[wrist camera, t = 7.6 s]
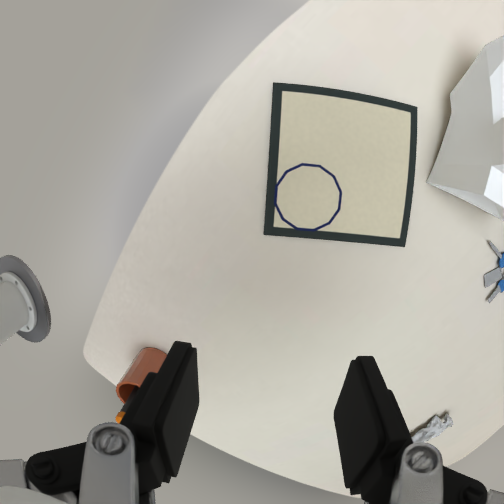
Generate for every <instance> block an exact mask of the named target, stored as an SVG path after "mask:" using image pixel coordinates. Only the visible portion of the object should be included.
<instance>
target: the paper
mask: <svg viewBox="0 0 504 504" xmlns="http://www.w3.org/2000/svg"><path fill="white" fill-rule="evenodd" d="M448 425H449V426H450V427H451V426H452V425H453V421H452V418H451V417H450V416H449V414H447V413H446V415H445V417H444V422H443V423H442V422H441V421H440V418H438V416H436V415H435V416H434V417H433V418H432V420H431V421H430V422H429V424H428V425H427V428H424V429H421V430H419V431H418V432H417V433H416V434H415V435H414V436H413V437H411V438H412V441H413V443H416V442H425V441H428V440H429V439H431V438H433V437H436V436H439V435H440V433H442V432H443V430H445V429H446V428H447V427H448Z"/></svg>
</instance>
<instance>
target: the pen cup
mask: <svg viewBox="0 0 504 504" xmlns="http://www.w3.org/2000/svg"><path fill="white" fill-rule="evenodd" d="M166 356H167V355H166V354H165V353H164V352H162V351H161V350H158V349H156V348H144V349H142V350H141V351H140V352H139V353H138V354H137V356H136V357H135V359H134V360H133V362H132V363H131V365H130V366H129V368H128V369H127V371H126V372H125V374H124V375H123V377H122V378H121V380H120V381H119V383H118V384H117V387H116V392H117V395H118V397H119V398H120V400H121V401H122V402H123V403H124V404H125V402H126V400H127V399H128V397H129V395H130V394H131V392H132V390H133V388H134V387H135V385H136V386H138V387H140V386H141V384H142V382H143V381H144V379H145V377H146V375H147V374H148V373H149V372H155V373H158V371H159V369H160V367H161V365H162V364H163V362H164V360H165V358H166Z"/></svg>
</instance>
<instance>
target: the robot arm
mask: <svg viewBox="0 0 504 504" xmlns="http://www.w3.org/2000/svg"><path fill="white" fill-rule="evenodd" d="M36 323H37V311H36V306H35V303H34V300H33V298H32V295H31V293H30V292H29V290H28V288H27V286H26V285H25V283H24V282H23V281H22V280H21V279H20V278H19V277H18V276H17V275H16V274H14V273H12V272H4V273H2V274H1V275H0V345H1V344H2V343H4V342H5V341H6V340H7V339H8V338H10V337H11V336H12V335H13V334H15V333H16V332H17V331H18V330H21V331H23V332H30V331H31V330H33V329H34V328H35V326H36ZM198 406H199V387H198V368H197V349H196V348H193V347H192V345H191V343H187V342H180V341H175V342H174V343H173V345H172V347H171V349H170V351H169V353H168V354H167V356H166V358H165V360H164V362H163V364H162V365H161V367H160V369H159V371H158V373H155V372H149V373H148V374H147V375H146V377H145V379H144V381H143V382H142V384H141V386H140V388H139V389H138V391H137V393H136V395H135V396H134V398H133V400H132V402H131V403H130V405H129V407H128V409H127V411H126V412H125V414H124V416H123V418H122V420H121V421H120V423H113V422H108V423H103V424H99V425H97V426H96V427H94V428H93V429H92V430H91V431H90V433H89V435H88V437H87V442H84V443H80V444H76V445H72V446H68V447H64V448H59V449H55V450H50V451H45V452H40V453H37V454H34V455H33V456H31V457H30V458H29V460H28V461H27V462H24V461H23V460H22V459H14V460H0V504H155V493H154V489H156V488H158V487H160V486H161V483H162V482H166V483H169V482H170V479H171V476H172V477H176V476H177V474H178V471H179V468H180V465H181V461H182V458H183V455H184V452H185V448H186V445H187V442H188V439H189V436H190V432H191V429H192V426H193V423H194V420H195V416H196V413H197V410H198ZM334 422H335V427H336V433H337V439H338V445H339V451H340V457H341V463H342V470H343V476H344V483H345V487H346V488H350V493H351V495H356V494H361V498H362V499H363V500H364V501H365V502H364V504H504V493H502V492H498V491H494V490H489V491H488V492H487V490H486V488H485V486H484V485H483V484H482V483H481V482H479V481H478V480H475V479H473V478H470V477H468V476H465V475H463V474H461V473H458V472H456V471H454V470H451V469H449V468H447V467H445V466H443V461H442V456H441V453H440V452H439V450H438V449H437V448H436V447H435V446H433V445H431V444H429V443H425V442H416V443H413V441H412V438H411V435H410V433H409V430H408V428H407V425H406V423H405V420H404V418H403V416H402V413H401V411H400V408H399V406H398V404H397V401H396V399H395V396H394V394H393V392H392V391H391V390H389V389H387V386H386V384H385V382H384V379H383V377H382V375H381V373H380V370H379V368H378V366H377V364H376V361H375V359H374V357H373V356H357V358H356V360H352V361H351V363H350V366H349V369H348V372H347V375H346V378H345V381H344V384H343V387H342V390H341V393H340V396H339V398H338V401H337V404H336V407H335V410H334Z"/></svg>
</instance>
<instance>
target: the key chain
mask: <svg viewBox="0 0 504 504" xmlns="http://www.w3.org/2000/svg"><path fill="white" fill-rule="evenodd" d="M489 244H490V246H491V247H492V249H493V250H494V251H495V252H496V254H497V255H498V256H499V258H500V261H499V266H500V267H498V268H497V269H495V270H493V271H491V272H489V273H487V274H485V275H484V280H485V288H486V287H488V286H489V285H491V284H493V283H495V282H497V281H498V280H500V279H501V276H503V275H502V273H501V269H502V268H503V267H504V253H503V254H501V253H500V252H499V251H498V249H497V248H496V247H495V246H494V245H493V244H492V243H491V241H490V242H489ZM500 273H501V275H500ZM503 291H504V278H503V280H500V281H499V283H498V287H497V288H496V290H495V291H494V292H493V294H491V297H489V299H488V302H489V303H490V302H491V301H492V300H493V299H494V297H495V296H496V295H497V294H498V293H499V292H503Z"/></svg>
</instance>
